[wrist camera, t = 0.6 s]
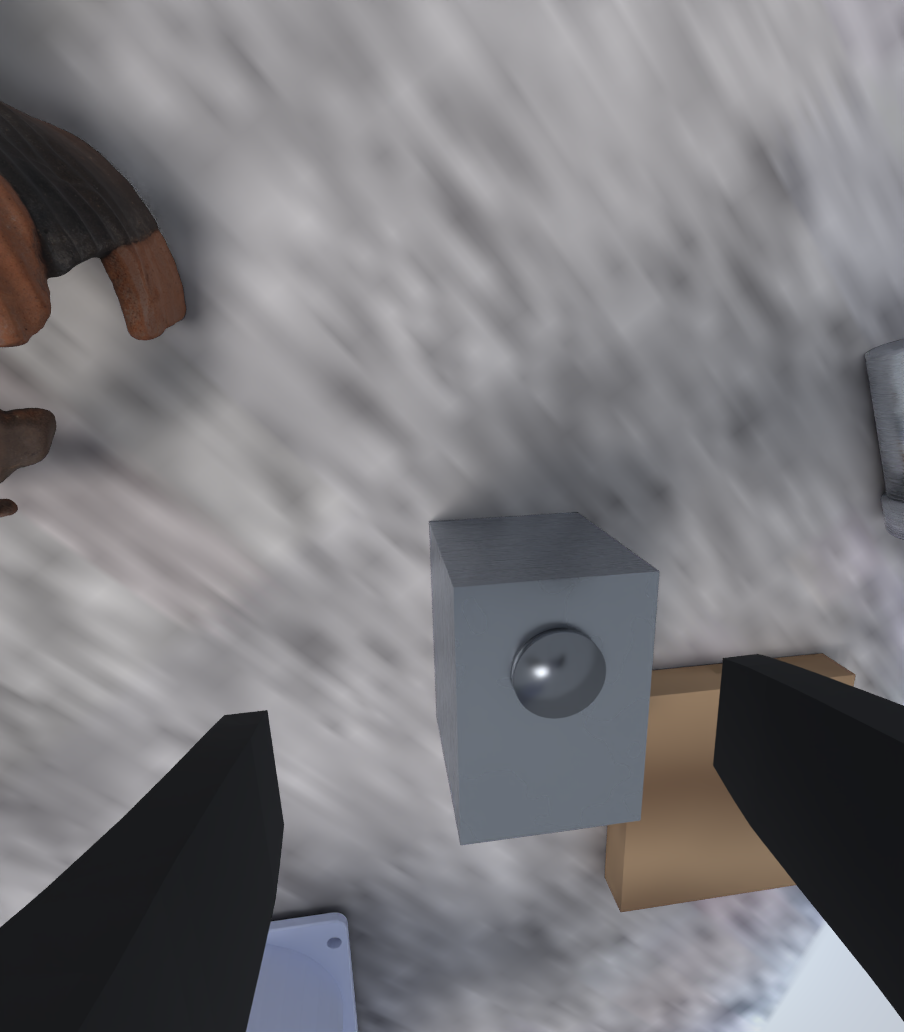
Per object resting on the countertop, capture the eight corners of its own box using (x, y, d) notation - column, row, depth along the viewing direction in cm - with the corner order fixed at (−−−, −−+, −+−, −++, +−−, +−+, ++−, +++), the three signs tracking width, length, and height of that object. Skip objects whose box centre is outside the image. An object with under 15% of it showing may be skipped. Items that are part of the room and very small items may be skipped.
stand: (790, 849, 23) (817, 881, 22) (604, 876, 22) (620, 912, 21) (822, 653, 21) (855, 674, 20) (616, 674, 20) (635, 698, 19)
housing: (570, 701, 20) (645, 829, 15) (436, 715, 20) (462, 855, 14) (576, 511, 18) (665, 575, 13) (428, 520, 18) (455, 592, 12)
